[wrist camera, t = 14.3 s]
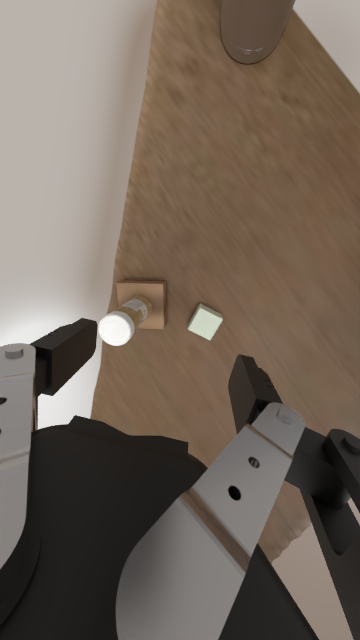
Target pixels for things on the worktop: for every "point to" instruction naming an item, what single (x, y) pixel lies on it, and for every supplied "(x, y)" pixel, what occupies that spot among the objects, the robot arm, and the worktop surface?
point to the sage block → (205, 321)
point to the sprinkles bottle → (124, 321)
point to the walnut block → (152, 292)
